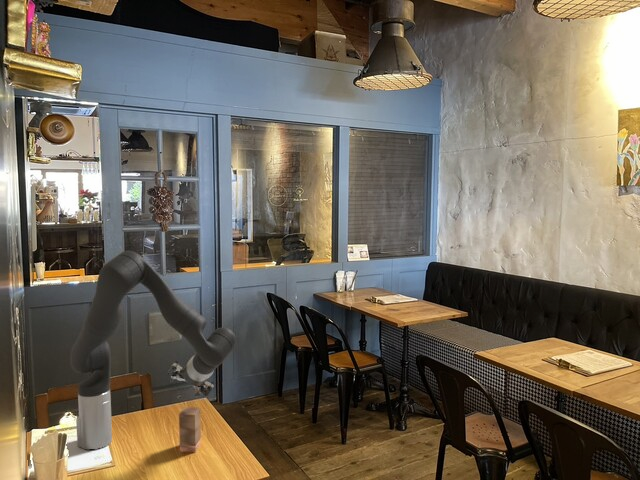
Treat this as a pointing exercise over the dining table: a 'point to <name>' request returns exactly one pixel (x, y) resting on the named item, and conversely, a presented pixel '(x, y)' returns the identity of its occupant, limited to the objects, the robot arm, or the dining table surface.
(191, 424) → the walnut block
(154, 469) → the dining table surface
